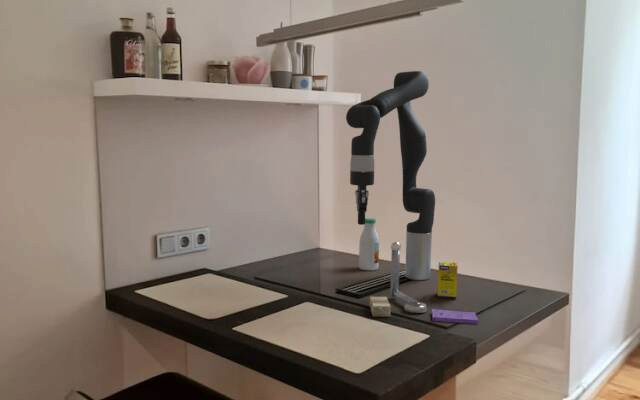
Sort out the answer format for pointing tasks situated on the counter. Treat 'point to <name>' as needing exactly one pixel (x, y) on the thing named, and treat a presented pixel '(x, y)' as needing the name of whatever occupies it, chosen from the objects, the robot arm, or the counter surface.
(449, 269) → the supplement box
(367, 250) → the milk bottle
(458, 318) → the sponges
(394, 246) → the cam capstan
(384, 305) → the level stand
